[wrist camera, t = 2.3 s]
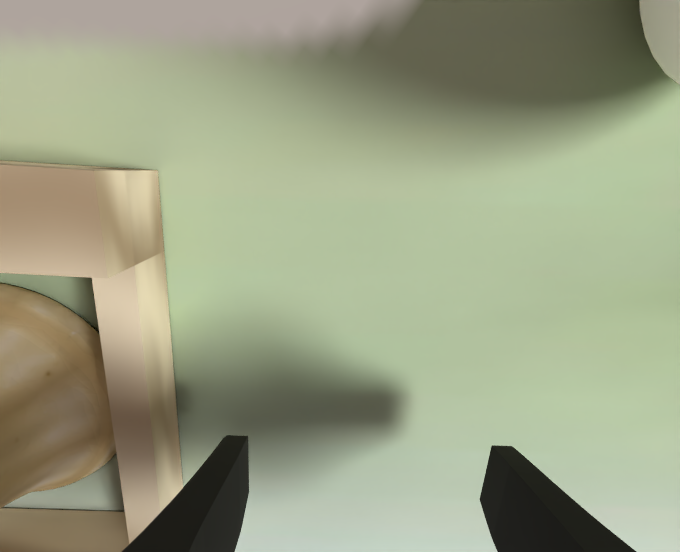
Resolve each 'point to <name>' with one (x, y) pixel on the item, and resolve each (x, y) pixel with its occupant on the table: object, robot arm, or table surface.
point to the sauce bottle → (663, 33)
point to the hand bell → (49, 396)
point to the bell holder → (102, 333)
